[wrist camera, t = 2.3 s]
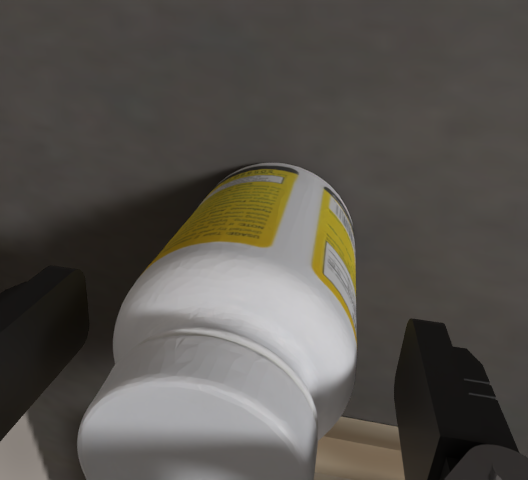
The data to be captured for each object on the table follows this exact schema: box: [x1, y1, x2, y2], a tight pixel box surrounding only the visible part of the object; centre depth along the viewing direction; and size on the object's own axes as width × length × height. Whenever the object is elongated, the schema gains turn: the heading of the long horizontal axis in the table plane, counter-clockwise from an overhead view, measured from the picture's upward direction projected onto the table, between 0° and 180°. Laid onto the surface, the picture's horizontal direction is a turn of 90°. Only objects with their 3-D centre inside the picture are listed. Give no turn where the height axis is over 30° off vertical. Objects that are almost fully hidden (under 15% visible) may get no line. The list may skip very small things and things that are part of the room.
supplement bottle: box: [77, 163, 357, 480], centre depth 12 cm, size 5×5×10 cm
